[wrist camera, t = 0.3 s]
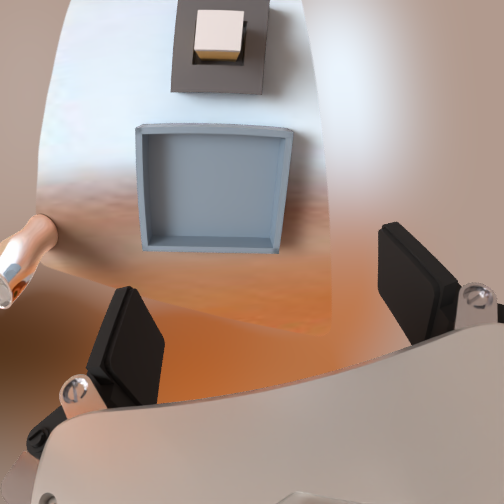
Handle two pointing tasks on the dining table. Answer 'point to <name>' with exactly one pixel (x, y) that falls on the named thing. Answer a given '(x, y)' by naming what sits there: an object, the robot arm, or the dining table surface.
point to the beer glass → (24, 256)
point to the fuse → (218, 35)
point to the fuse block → (220, 72)
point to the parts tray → (212, 186)
